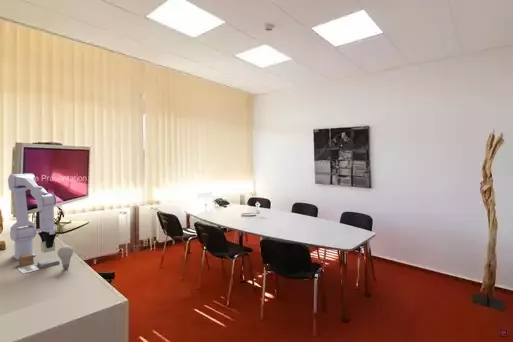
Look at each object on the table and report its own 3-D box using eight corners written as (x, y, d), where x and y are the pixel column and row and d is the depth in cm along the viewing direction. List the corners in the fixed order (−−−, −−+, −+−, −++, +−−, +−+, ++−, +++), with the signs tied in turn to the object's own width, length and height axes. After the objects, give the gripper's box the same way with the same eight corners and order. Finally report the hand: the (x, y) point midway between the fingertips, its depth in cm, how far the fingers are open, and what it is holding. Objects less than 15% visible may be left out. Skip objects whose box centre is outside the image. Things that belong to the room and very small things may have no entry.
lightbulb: (66, 271, 128) (65, 248, 128) (54, 271, 129) (53, 247, 129) (77, 266, 134) (76, 244, 134) (66, 266, 135) (65, 243, 135)
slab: (37, 264, 137) (37, 261, 137) (54, 260, 143) (54, 257, 143) (42, 268, 133) (42, 264, 133) (59, 263, 138) (59, 260, 138)
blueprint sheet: (16, 268, 132) (16, 268, 132) (32, 264, 137) (32, 264, 137) (22, 273, 126) (22, 273, 126) (39, 269, 131) (39, 269, 131)
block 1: (19, 264, 138) (19, 255, 138) (31, 262, 141) (30, 253, 141) (22, 266, 135) (21, 257, 135) (33, 264, 139) (33, 255, 138)
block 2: (41, 251, 138) (40, 242, 137) (51, 248, 141) (51, 240, 141) (44, 252, 135) (43, 243, 135) (55, 250, 138) (54, 241, 138)
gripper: (32, 218, 139) (33, 246, 139) (41, 222, 130) (42, 251, 130) (49, 216, 144) (50, 242, 145) (59, 219, 135) (60, 247, 136)
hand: (47, 246), depth 138 cm, fingers closed on block 2, 4 cm apart
